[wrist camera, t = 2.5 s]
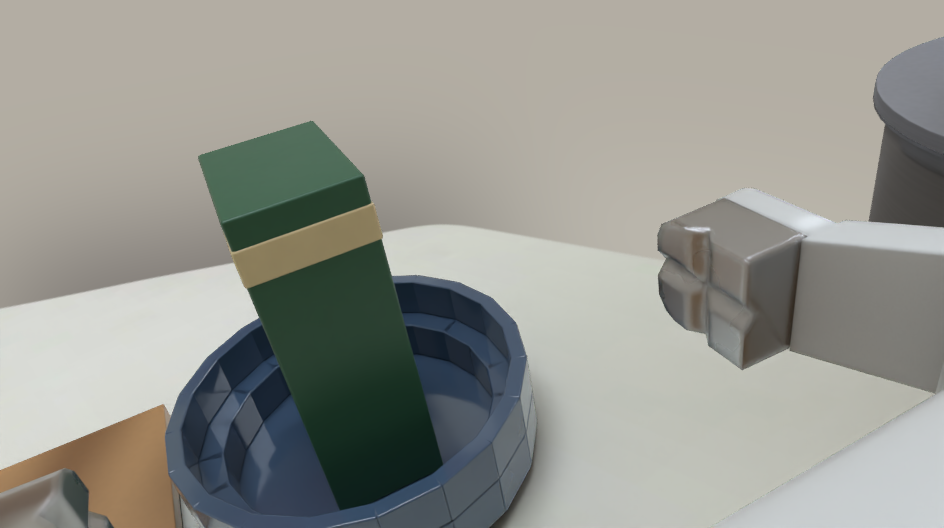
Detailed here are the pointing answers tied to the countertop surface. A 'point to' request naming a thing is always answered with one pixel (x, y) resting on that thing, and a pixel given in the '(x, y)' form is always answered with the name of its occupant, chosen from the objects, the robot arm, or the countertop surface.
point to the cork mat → (115, 471)
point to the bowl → (292, 454)
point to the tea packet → (327, 306)
